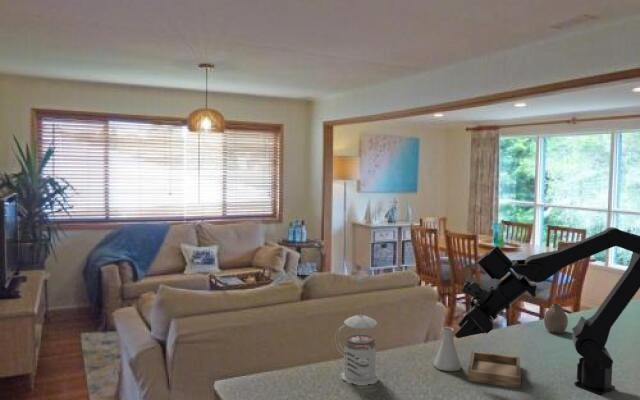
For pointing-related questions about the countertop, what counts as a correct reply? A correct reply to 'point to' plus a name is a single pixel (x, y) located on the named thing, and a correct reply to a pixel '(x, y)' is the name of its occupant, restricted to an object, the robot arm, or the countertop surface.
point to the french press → (361, 369)
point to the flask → (447, 353)
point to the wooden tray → (495, 369)
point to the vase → (555, 319)
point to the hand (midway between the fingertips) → (457, 331)
